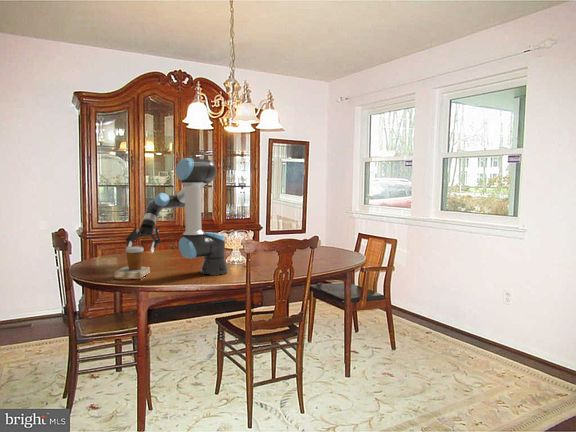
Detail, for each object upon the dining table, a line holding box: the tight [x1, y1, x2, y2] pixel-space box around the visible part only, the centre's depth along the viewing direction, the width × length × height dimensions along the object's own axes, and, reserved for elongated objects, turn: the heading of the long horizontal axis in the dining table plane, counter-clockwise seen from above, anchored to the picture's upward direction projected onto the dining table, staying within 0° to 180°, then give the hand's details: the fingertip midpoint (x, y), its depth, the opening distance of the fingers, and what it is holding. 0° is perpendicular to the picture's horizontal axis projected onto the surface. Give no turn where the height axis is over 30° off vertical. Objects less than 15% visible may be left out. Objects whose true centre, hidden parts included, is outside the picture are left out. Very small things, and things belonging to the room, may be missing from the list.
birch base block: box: [113, 265, 151, 278], centre depth 233 cm, size 14×14×4 cm
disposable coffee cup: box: [124, 245, 145, 271], centre depth 231 cm, size 10×10×12 cm
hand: (139, 251), depth 242 cm, fingers open, 13 cm apart
